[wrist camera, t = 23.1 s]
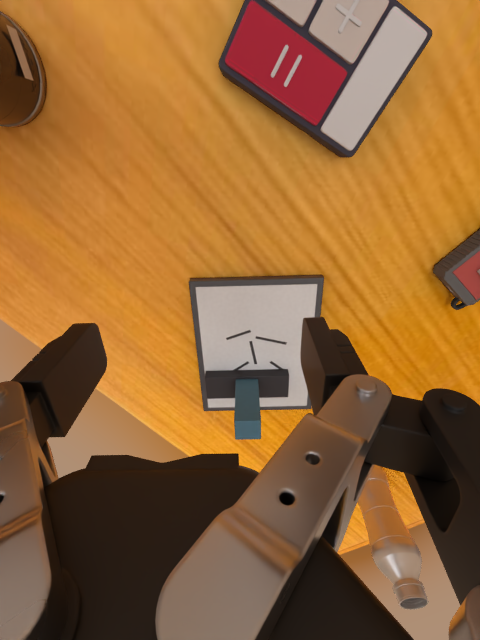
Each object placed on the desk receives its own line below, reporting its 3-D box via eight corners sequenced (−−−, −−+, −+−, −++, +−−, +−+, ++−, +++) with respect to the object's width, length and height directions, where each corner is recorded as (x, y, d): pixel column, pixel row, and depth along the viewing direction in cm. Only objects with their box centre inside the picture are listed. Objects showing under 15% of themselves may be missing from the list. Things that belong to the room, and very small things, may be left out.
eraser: (208, 391, 49) (200, 442, 40) (205, 370, 47) (197, 419, 38) (286, 390, 48) (296, 440, 40) (287, 368, 46) (297, 417, 38)
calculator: (285, -102, 23) (440, 28, 26) (281, -66, 27) (417, 44, 30) (215, 63, 28) (353, 159, 31) (220, 75, 32) (342, 159, 34)
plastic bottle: (352, 449, 56) (403, 587, 39) (387, 457, 57) (451, 595, 39) (337, 472, 59) (377, 610, 42) (370, 479, 60) (423, 617, 42)
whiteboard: (204, 406, 52) (203, 411, 51) (190, 278, 41) (188, 281, 40) (310, 404, 51) (311, 409, 50) (322, 274, 41) (324, 278, 40)
